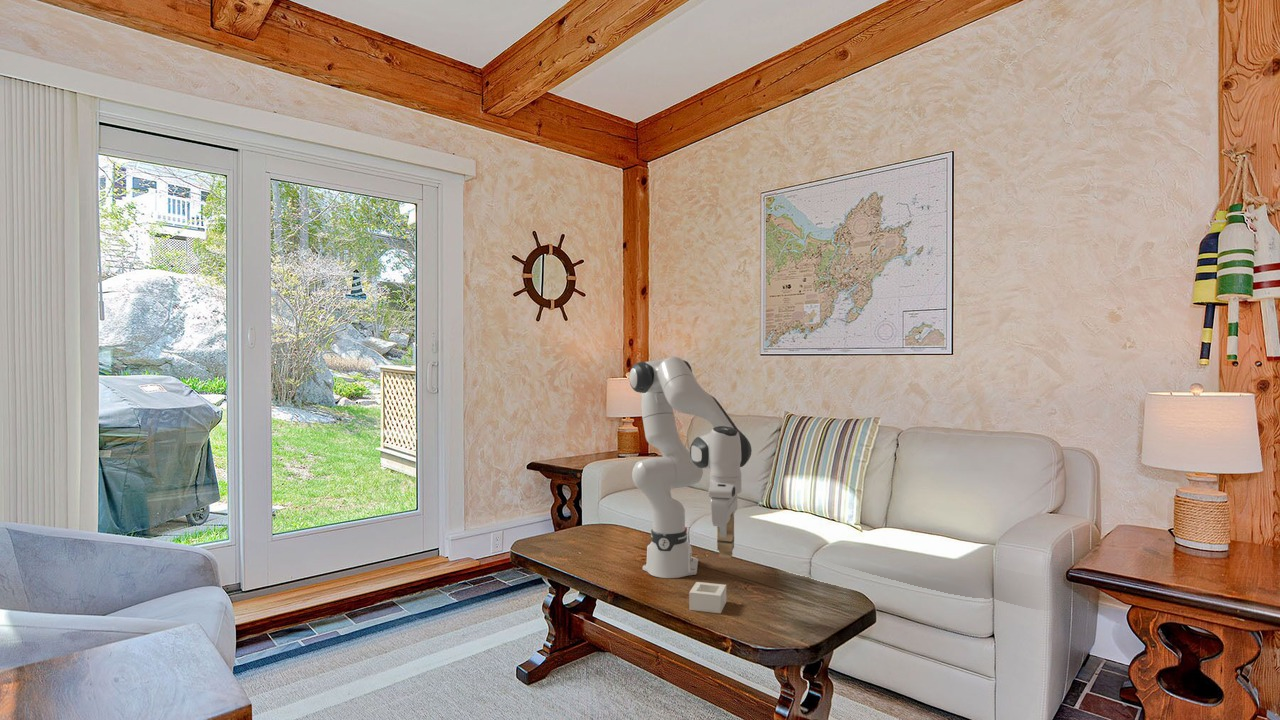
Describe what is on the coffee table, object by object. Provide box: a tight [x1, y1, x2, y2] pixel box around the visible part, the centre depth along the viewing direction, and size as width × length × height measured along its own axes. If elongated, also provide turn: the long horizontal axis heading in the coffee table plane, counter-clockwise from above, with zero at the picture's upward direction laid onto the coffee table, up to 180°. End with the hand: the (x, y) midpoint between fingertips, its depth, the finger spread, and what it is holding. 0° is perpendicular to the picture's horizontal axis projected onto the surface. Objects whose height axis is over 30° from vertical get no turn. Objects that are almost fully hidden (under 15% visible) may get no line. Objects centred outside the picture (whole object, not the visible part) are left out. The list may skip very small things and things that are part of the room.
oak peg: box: [716, 512, 735, 559], centre depth 179 cm, size 4×4×12 cm
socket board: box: [688, 581, 727, 614], centre depth 184 cm, size 9×9×5 cm
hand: (725, 534), depth 179 cm, fingers closed on oak peg, 4 cm apart
